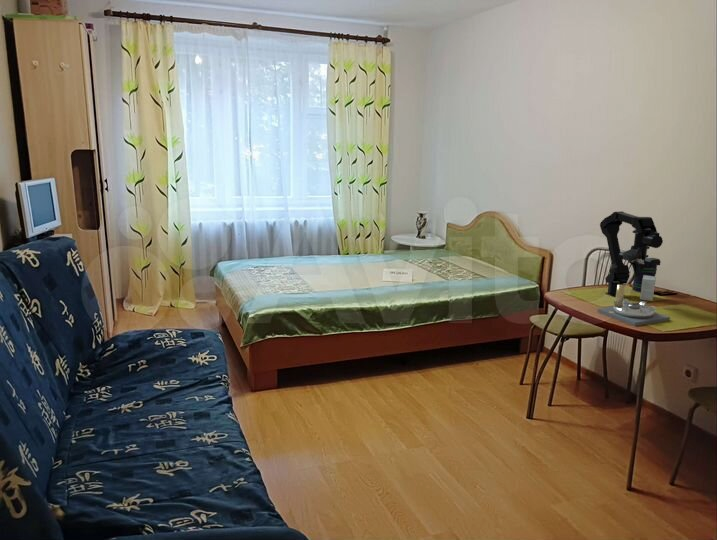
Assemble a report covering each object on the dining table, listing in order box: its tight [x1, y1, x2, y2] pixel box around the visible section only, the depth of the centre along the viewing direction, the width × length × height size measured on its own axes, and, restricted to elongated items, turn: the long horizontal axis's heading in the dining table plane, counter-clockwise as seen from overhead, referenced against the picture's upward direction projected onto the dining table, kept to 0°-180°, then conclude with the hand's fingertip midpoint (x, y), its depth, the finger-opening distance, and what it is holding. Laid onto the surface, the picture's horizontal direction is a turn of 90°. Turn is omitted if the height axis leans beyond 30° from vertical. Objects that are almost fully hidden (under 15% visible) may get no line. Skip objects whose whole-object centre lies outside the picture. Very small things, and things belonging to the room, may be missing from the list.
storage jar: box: [632, 265, 658, 293], centre depth 269 cm, size 10×10×15 cm
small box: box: [639, 275, 657, 301], centre depth 256 cm, size 8×6×10 cm
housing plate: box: [597, 306, 671, 327], centre depth 230 cm, size 20×20×2 cm
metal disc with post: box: [612, 284, 656, 318], centre depth 229 cm, size 16×16×12 cm
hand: (636, 276), depth 247 cm, fingers closed
